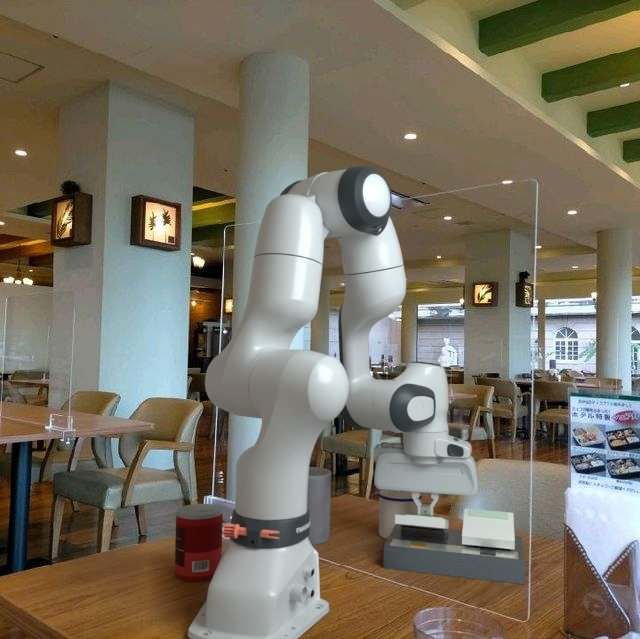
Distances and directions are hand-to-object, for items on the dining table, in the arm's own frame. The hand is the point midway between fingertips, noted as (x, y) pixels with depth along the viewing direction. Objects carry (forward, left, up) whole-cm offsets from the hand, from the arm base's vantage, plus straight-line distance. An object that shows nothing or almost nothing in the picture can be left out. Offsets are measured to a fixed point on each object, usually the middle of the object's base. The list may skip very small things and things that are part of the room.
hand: (425, 514), depth 123 cm
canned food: (-26, +36, -7) cm, 45 cm away
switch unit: (-6, -6, -7) cm, 11 cm away
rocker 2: (-5, -12, 0) cm, 13 cm away
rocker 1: (-5, 0, 0) cm, 5 cm away
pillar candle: (-1, +24, -7) cm, 25 cm away
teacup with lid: (+8, +7, -7) cm, 13 cm away
